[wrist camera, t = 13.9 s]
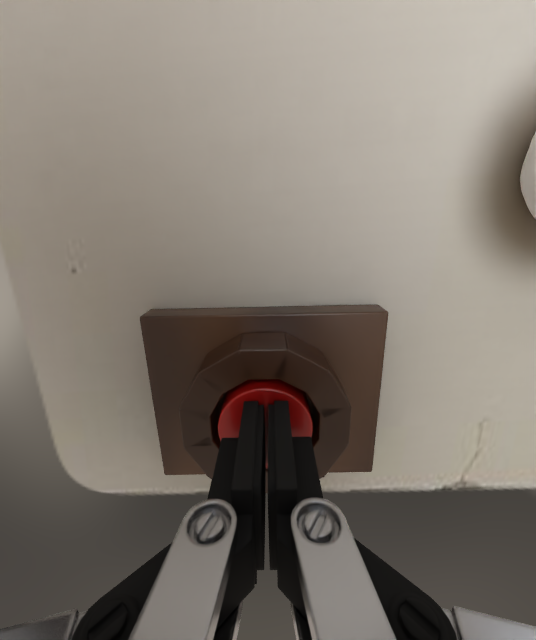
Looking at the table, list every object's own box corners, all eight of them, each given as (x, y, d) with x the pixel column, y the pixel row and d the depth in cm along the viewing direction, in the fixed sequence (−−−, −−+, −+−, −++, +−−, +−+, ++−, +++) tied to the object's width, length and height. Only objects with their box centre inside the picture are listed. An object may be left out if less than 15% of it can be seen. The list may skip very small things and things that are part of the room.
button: (226, 439, 13) (220, 470, 12) (221, 367, 12) (213, 389, 11) (306, 438, 13) (311, 468, 12) (308, 365, 12) (314, 387, 11)
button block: (171, 457, 15) (149, 509, 13) (150, 308, 13) (116, 331, 10) (364, 454, 15) (386, 506, 13) (378, 304, 13) (409, 326, 10)
